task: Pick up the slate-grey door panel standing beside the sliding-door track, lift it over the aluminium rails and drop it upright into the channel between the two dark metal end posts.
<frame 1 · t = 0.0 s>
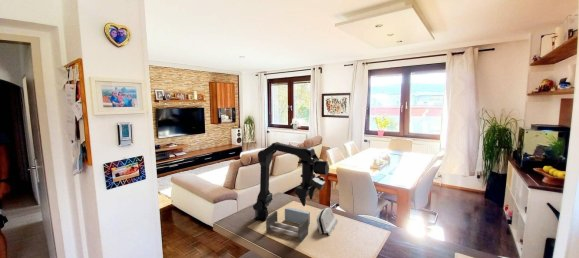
hand: (307, 202, 123), 15 cm above the table, tool pointing down, fingers open, 9 cm apart
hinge: (326, 227, 128), on the table
door panel: (297, 222, 133), on the table
door track: (287, 233, 122), on the table
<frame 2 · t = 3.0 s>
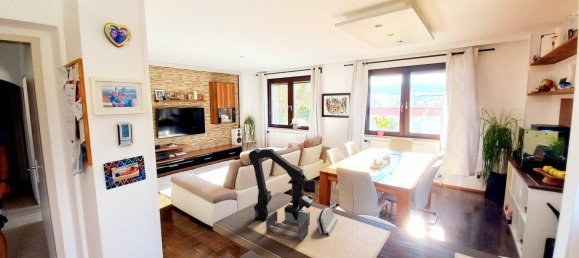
hand: (297, 219, 133), 2 cm above the table, tool pointing down, fingers closed on door panel, 2 cm apart
door panel: (297, 222, 133), on the table, touching gripper
everything else where it was.
when the fingers open (4 cm above the table, at t = 6.7 s): door panel stays where it is, resting on door track.
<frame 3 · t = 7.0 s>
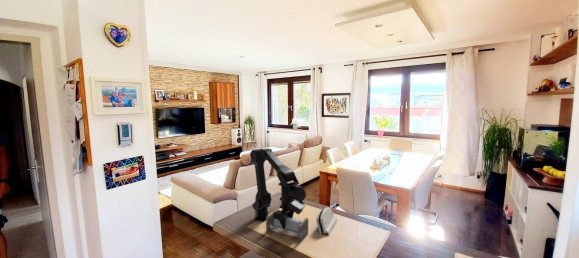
hand: (287, 225, 121), 4 cm above the table, tool pointing down, fingers open, 6 cm apart
door panel: (287, 231, 121), point 1 cm above the table, touching door track
everything else where it was.
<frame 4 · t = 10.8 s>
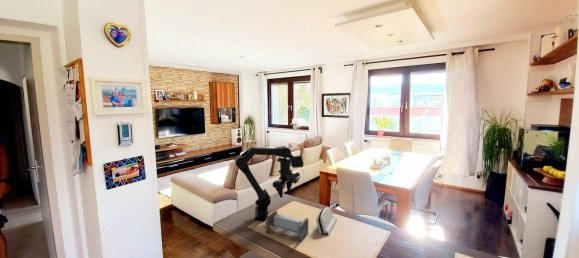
hand: (285, 194, 141), 12 cm above the table, tool pointing down, fingers open, 9 cm apart
nothing on the table moved.
at the end: door panel 0.1 cm off-centre on the door track, point 1.0 cm above the door track's base; door panel tilted 0°; the gripper is holding nothing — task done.
